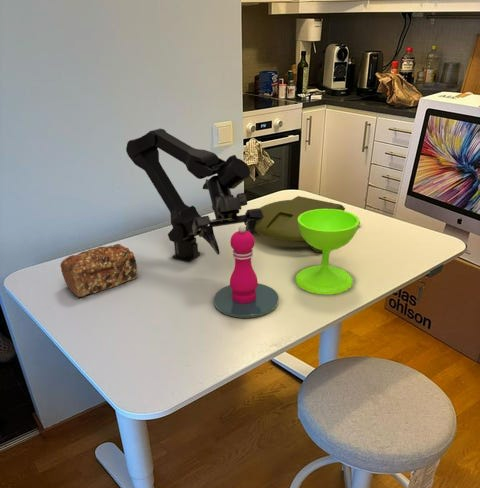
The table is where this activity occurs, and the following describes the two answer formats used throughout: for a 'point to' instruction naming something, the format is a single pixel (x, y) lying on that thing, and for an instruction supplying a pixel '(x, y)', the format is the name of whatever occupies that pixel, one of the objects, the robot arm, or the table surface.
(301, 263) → the table surface
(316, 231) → the wineglass
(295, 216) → the spaceship
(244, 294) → the pepper mill
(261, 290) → the plate
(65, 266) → the bread
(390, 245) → the table surface
